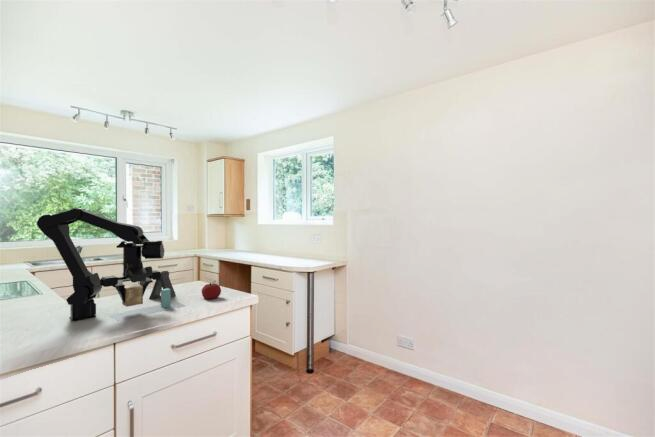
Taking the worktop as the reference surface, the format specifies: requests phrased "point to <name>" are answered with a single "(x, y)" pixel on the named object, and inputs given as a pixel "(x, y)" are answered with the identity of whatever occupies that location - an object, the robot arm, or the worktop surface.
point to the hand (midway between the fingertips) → (132, 301)
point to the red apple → (211, 291)
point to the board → (144, 311)
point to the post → (165, 298)
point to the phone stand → (161, 283)
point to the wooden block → (133, 295)
